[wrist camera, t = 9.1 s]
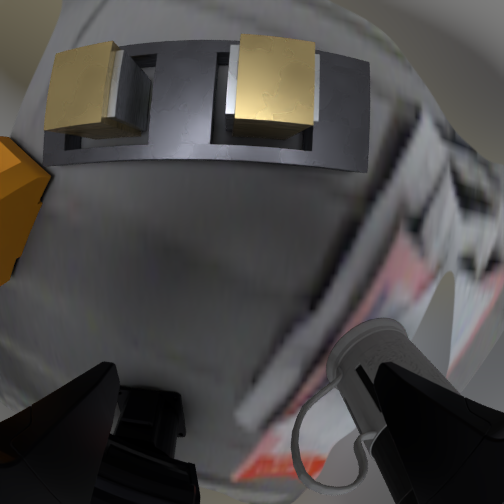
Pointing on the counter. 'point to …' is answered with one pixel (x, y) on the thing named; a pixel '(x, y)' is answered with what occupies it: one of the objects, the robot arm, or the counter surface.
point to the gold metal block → (272, 87)
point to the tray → (203, 106)
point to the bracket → (17, 202)
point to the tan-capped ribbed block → (97, 93)
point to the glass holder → (369, 401)
